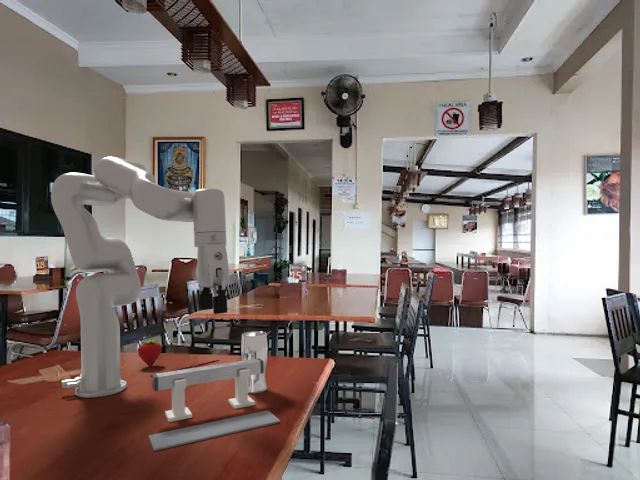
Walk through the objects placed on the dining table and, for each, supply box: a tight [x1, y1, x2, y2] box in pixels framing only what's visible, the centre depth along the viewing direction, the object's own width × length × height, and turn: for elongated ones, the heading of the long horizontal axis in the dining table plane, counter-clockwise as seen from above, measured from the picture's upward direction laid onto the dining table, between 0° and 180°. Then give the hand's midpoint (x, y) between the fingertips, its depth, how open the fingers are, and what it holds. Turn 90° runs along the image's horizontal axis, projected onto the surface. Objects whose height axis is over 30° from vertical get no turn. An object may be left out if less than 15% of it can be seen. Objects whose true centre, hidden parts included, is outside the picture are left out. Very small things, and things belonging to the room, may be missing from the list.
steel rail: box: [151, 358, 264, 392], centre depth 104 cm, size 26×3×3 cm, turn 119°
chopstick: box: [150, 359, 220, 378], centre depth 140 cm, size 2×24×1 cm, turn 140°
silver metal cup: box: [240, 330, 268, 394], centre depth 118 cm, size 7×7×15 cm
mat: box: [148, 410, 281, 452], centre depth 93 cm, size 26×7×1 cm, turn 119°
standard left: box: [164, 379, 193, 423], centre depth 101 cm, size 5×6×9 cm
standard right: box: [228, 369, 256, 410], centre depth 108 cm, size 5×6×9 cm
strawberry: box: [137, 335, 163, 367], centre depth 144 cm, size 6×8×10 cm
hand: (213, 311), depth 106 cm, fingers open, 9 cm apart
